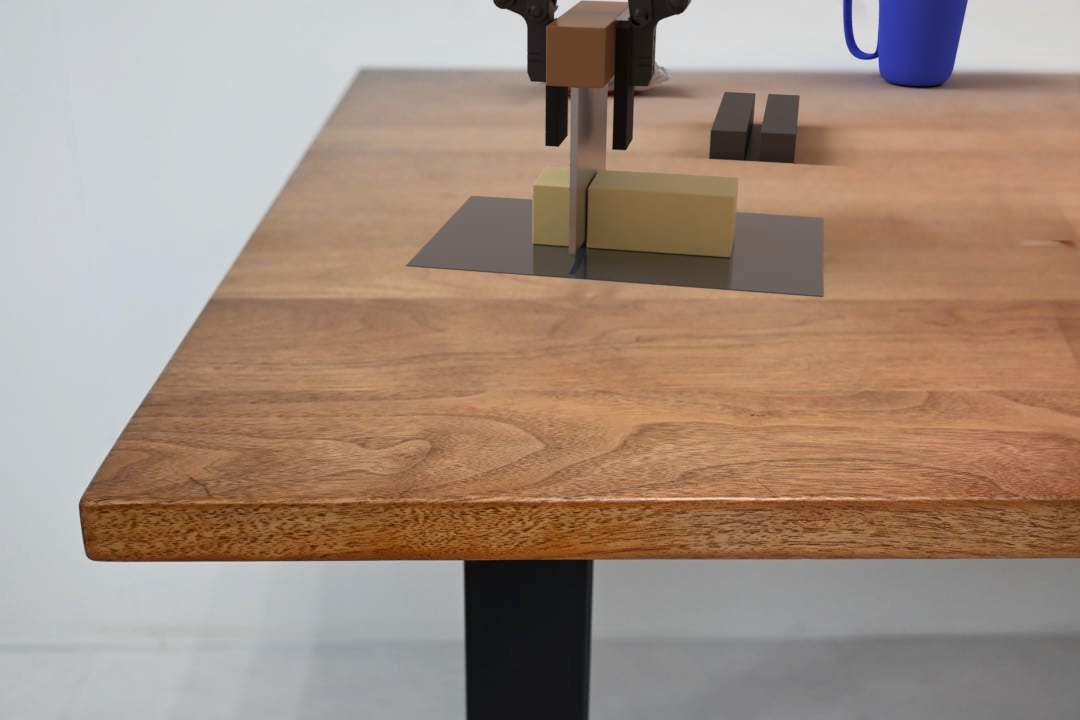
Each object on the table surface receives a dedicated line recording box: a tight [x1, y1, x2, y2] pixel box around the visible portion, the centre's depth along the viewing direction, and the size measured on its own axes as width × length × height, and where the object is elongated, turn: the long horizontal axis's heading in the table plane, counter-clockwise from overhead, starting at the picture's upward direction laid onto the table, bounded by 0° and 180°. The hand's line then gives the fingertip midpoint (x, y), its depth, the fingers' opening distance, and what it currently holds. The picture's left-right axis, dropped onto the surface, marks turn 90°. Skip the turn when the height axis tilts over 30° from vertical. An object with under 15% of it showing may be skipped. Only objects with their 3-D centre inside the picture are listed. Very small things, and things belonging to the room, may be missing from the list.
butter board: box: [405, 195, 824, 298], centre depth 72 cm, size 22×14×1 cm, turn 78°
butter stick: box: [587, 169, 740, 258], centre depth 71 cm, size 8×4×4 cm, turn 78°
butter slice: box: [532, 166, 570, 247], centre depth 72 cm, size 2×4×4 cm, turn 168°
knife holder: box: [708, 91, 801, 165], centre depth 96 cm, size 6×14×3 cm, turn 168°
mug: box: [842, 0, 969, 87], centre depth 121 cm, size 8×12×10 cm
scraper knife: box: [545, 0, 630, 255], centre depth 70 cm, size 3×10×12 cm, turn 168°
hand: (589, 141), depth 70 cm, fingers closed on scraper knife, 3 cm apart
